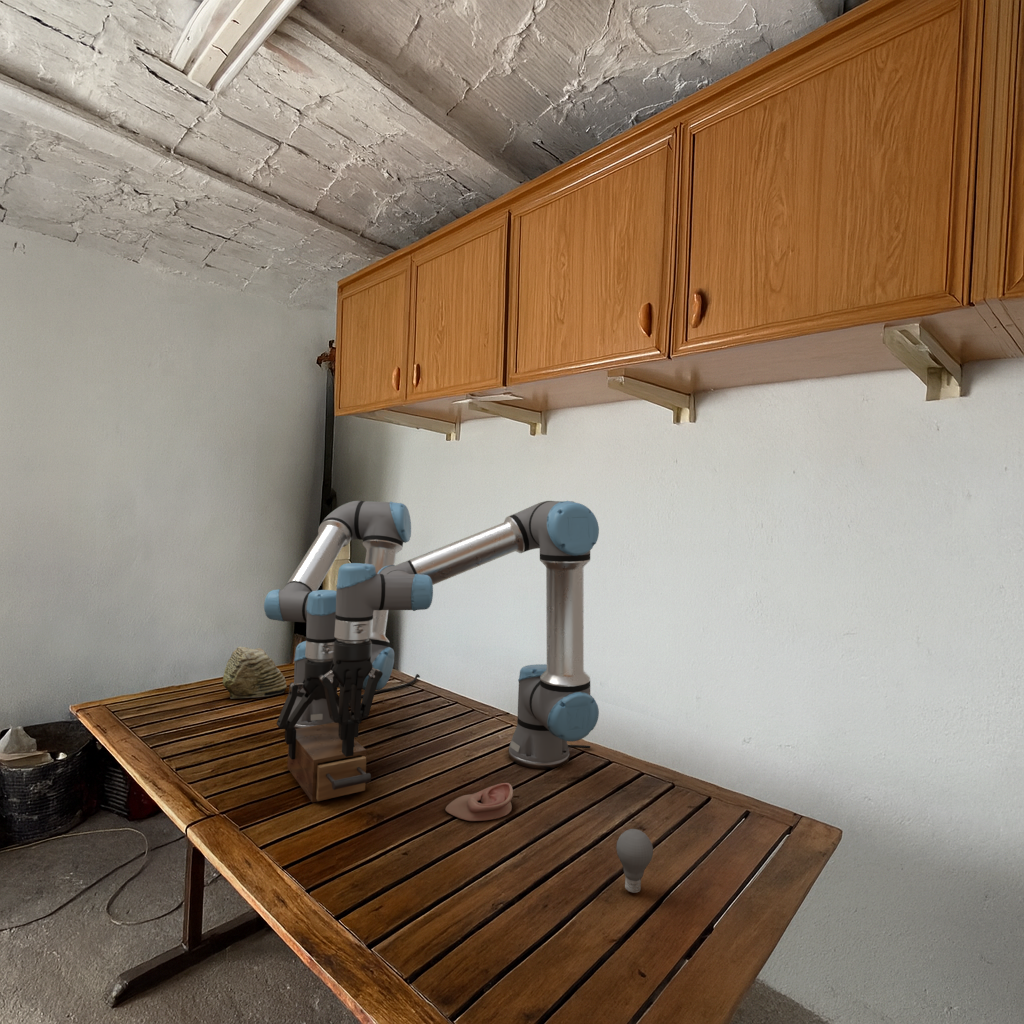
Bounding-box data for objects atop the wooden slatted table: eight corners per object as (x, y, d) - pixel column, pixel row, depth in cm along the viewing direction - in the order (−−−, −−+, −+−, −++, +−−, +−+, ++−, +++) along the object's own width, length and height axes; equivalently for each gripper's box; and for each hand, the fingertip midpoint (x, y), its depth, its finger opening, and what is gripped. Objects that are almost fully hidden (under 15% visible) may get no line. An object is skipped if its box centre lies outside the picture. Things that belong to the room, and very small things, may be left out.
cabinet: (364, 790, 137) (366, 749, 137) (312, 802, 131) (313, 760, 131) (335, 758, 153) (336, 722, 153) (287, 768, 147) (288, 729, 147)
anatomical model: (441, 797, 127) (457, 773, 138) (440, 817, 127) (456, 791, 138) (505, 806, 124) (517, 781, 136) (504, 826, 124) (516, 800, 136)
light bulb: (610, 879, 108) (613, 822, 108) (644, 879, 109) (647, 822, 109) (619, 902, 102) (622, 840, 102) (655, 901, 103) (658, 840, 103)
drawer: (375, 802, 131) (377, 768, 130) (327, 814, 125) (328, 778, 125) (337, 759, 150) (338, 730, 150) (293, 768, 145) (295, 738, 144)
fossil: (218, 695, 195) (220, 647, 195) (278, 685, 208) (279, 640, 207) (228, 703, 189) (230, 653, 188) (289, 692, 201) (290, 645, 201)
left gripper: (272, 667, 136) (268, 768, 136) (377, 656, 149) (373, 748, 150) (264, 659, 142) (260, 756, 143) (365, 649, 156) (361, 737, 156)
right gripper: (327, 645, 123) (321, 766, 123) (390, 640, 130) (384, 754, 130) (315, 637, 129) (310, 752, 129) (376, 633, 136) (370, 742, 137)
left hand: (318, 752), depth 146 cm, fingers closed on cabinet, 11 cm apart
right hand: (347, 753), depth 130 cm, fingers closed
